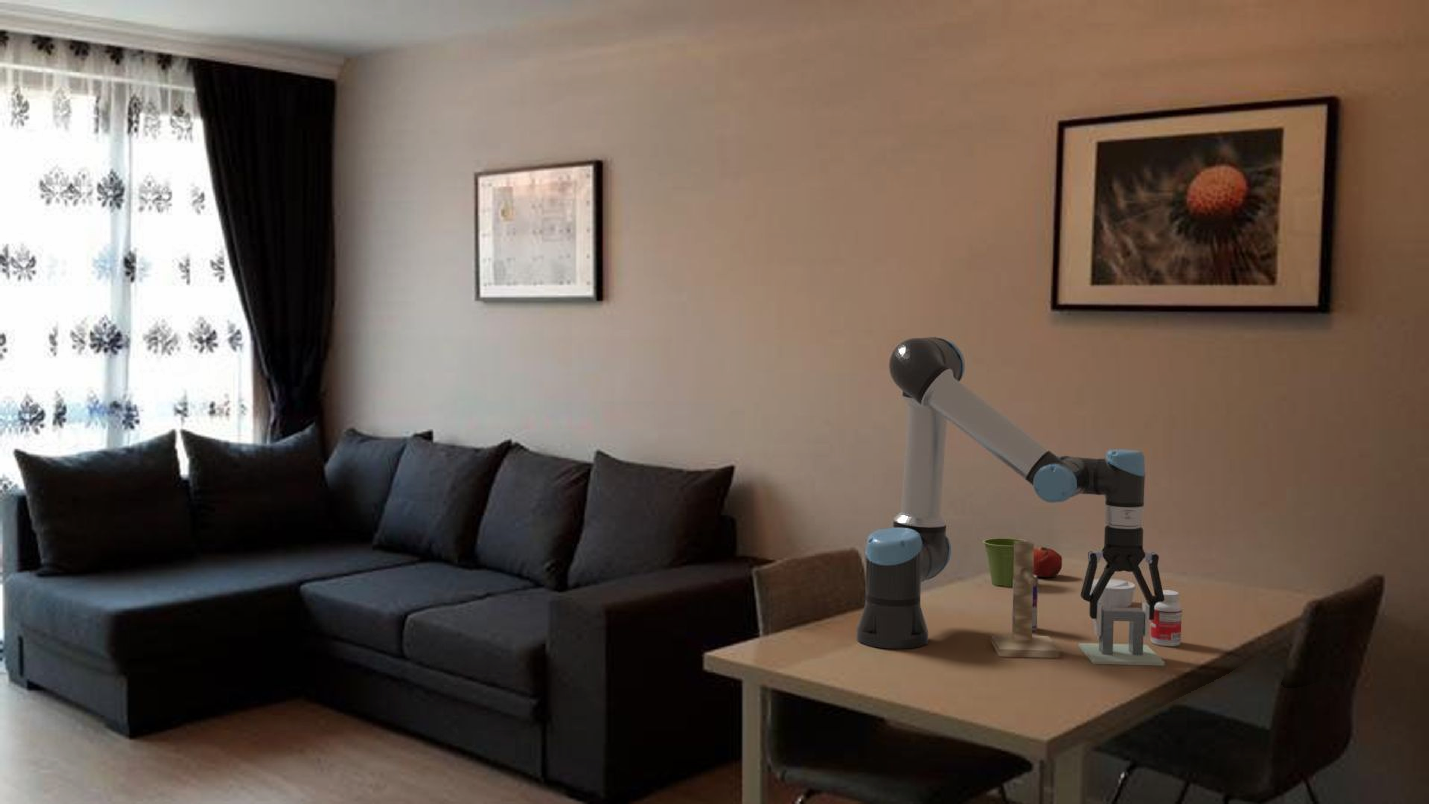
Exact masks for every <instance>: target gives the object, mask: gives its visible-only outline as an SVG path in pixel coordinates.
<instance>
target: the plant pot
mask: <svg viewBox="0 0 1429 804" xmlns="http://www.w3.org/2000/svg"><path fill="white" fill-rule="evenodd" d="M1014 541H1027V540H1026V539H1020V538H1012V537H1011V538H1010V537H993V538H988V539H983V541H982V543H983V544H984V546H985V547H984V548H985V552H986V555H987V560H988V568H989V574H990V575H989V576H990V580H991V584H992V585H993V584H994V586H996V585H1000V586H1004V587H1006V586H1011V587H1013V577H1014Z"/></svg>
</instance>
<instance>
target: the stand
mask: <svg viewBox="0 0 1429 804" xmlns="http://www.w3.org/2000/svg"><path fill="white" fill-rule="evenodd" d="M1034 549H1035V544H1034V543H1033V541H1031V540H1029V541H1028V540H1026V541H1014V577H1013V586H1012V608H1013V626H1012V625H1011V628H1012V632H1011V634H991V635H990V642H991V644H992V646H993V648H994V649H995V651H996V653H997V655H998V656H999V657H1003V658H1004V657H1008V658H1012V657H1013V658H1015V657H1016V658H1050V659H1055V658H1056V659H1058V658H1060V650H1059V648H1058V647H1057V646H1056V645H1055V643H1054V642H1053V640H1052V639H1051V638H1050V636H1049V635H1033V631H1032V611H1033V587H1035V586H1036V585H1037V584H1038V585H1039V580H1038V581H1037V579H1038V578H1037V579H1036V578H1035V577H1034V576H1033V575H1034V574H1033V564H1034Z"/></svg>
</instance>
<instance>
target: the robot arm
mask: <svg viewBox="0 0 1429 804" xmlns="http://www.w3.org/2000/svg"><path fill="white" fill-rule="evenodd" d="M965 364H966V363H965V358H964V355H963V352H962V351H961V350H960V348H959V347H958V346H957V345H956V344H955V343H954V342H952V341H950V340H948V339H945V338H941V337H936V336H930V337H913V338H909V339H906V340H903V341H902V342H900V343H899V344H898V345H897V346H896V347H895V348H894V350H893V351H892V353H891V355H890V358H889V364H888V366H889V367H888V369H889V373H890V376H891V378H892V379H891V380H892V381H893V382H894V384H895V385H896V386H897V387H898V388H899V389H900V390H902V394H901V395H902V399H903V400H904V401H905V402H906V404H907V405H908V411H907V423H906V425H907V426H906V438H905V439H906V440H905V450H904V452H905V456H904V468H903V484H902V496H901V497H902V498H901V508H900V509H901V510H900V512H899V513H898V514H897V515H896V516H894V518H893V524H892V527H887V528H879V529H877V530H874V531H873V532H871V533H870V534H869V535H868V537H867V539H866V546H865V550H864V551H865V604H864V607H863V611H862V612H861V613H862V614H861V617H860V619H859V623H858V625H857V629H856V639H857V640H856V641H858V642H859V643H861V644H862V645H866V646H870V647H874V648H881V649H894V650H895V649H896V650H897V649H899V650H902V649H904V650H905V649H913V648H914V649H916V648H919V647H923V646H925V645H927V644H928V643H929V629H928V625H927V623H926V619H925V616H924V613H923V609H922V607H921V593H922V592H921V590H922V589H921V586H922V583H923V582H925V581H929V580H931V579H933V578H935V577H937V576H938V575H939V574H940V573H942V571H944V570H945V568H946V567H947V566H948V564H949V562H950V559H951V557H952V556H951V555H952V545H951V542H950V539H949V537H948V535H947V533H946V532H947V522H946V520H945V519H944V518H943V516H942V515H941V509H942V508H941V507H942V506H941V504H942V492H943V480H944V469H945V467H944V465H945V455H946V453H945V452H946V451H945V450H946V439H947V437H946V436H947V425H948V421H950V422H951V423H952V424H953V425H954V426H956V427H957V428H958V429H960V430H961V431H962V432H963V433H965V434H966V435H967V436H968V437H970V438H971V439H972V440H974V441H976V442H977V443H978V444H979V445H980V446H981V447H983V448H984V449H985V450H987V451H988V452H990V453H991V454H992V455H993V456H994V457H996V458H997V459H998V460H1000V461H1001V462H1002V463H1004V465H1006V466H1008V467H1009V468H1010V469H1011V470H1012V471H1014V472H1015V473H1016V474H1018V475H1019V476H1020V477H1022V478H1023V479H1024V480H1026V481H1027V482H1028V483H1029V484H1030V485H1032V486H1033V490H1034V492H1035V494H1036V495H1037V496H1038V497H1039V498H1040V499H1041V500H1043V501H1045V502H1047V503H1053V504H1055V503H1062V502H1066V501H1068V500H1069V499H1070V498H1073V497H1075V496H1077V495H1094V496H1095V495H1096V496H1104V498H1105V500H1104V501H1105V503H1104V504H1105V505H1104V506H1105V507H1104V508H1105V511H1104V523H1105V524H1107V525H1106V526H1104V535H1103V537H1104V539H1103V541H1104V542H1103V543H1104V544H1103V548H1102V550H1101V551H1092V550H1090V551H1088V553H1087V557H1088V564H1087V569H1086V572H1085V575H1084V578H1083V579H1084V580H1083V583H1082V587H1081V592H1080V597H1081V598H1082V599H1083V600H1084V601H1087V602H1089V617H1090V619H1092V620H1093V621H1094V622H1093V633H1094V634H1095V635H1096V637H1097V636H1098V637H1099V636H1101V604H1100V603H1099V602H1098V600H1099V598H1100V597H1101V595H1102V593H1103V591H1104V589H1105V587H1106V586H1107V584H1108V582H1109V580H1110V579H1112V577H1113V575H1114V574H1115V572H1117V573H1119V572H1123V571H1124V572H1128V573H1132V574H1133V576H1134V578H1135V580H1136V582H1137V584H1138V587H1139V588H1140V590H1141V592H1142V594H1143V597H1144V598H1145V600H1146V602H1142V603H1141V610H1142V611H1144V629H1143V637H1144V638H1149V636H1150V634H1149V633H1150V632H1149V630H1150V621H1151V620H1153V619H1154V606H1155V605H1156V603H1158V602H1163V601H1164V595H1163V590H1164V589H1163V587H1162V581H1161V577H1160V570H1159V566H1158V564H1159V561H1160V560H1159V559H1160V556H1159V554H1157V553H1155V552H1154V551H1152V552H1145V550H1144V529H1143V527H1142V526H1143V525H1144V517H1145V516H1144V515H1145V514H1144V513H1145V512H1144V507H1145V482H1146V471H1145V468H1146V467H1145V454H1144V453H1143V452H1142V451H1139V450H1135V449H1134V450H1133V449H1118V448H1117V449H1115V448H1114V449H1109V450H1107V452H1106V455H1105V457H1104V458H1094V457H1093V458H1092V457H1091V458H1090V457H1080V456H1079V457H1078V456H1069V455H1062V456H1060V455H1059V456H1057V455H1055V454H1054V453H1053V452H1051V451H1050V450H1049V449H1048V448H1046V446H1044V445H1043V444H1042V443H1040V442H1039V441H1037V440H1036V439H1035V438H1034V437H1032V435H1030V434H1028V433H1027V432H1026V431H1025V430H1023V429H1022V428H1020V427H1019V426H1018V425H1016V424H1015V423H1014V422H1013V421H1011V420H1010V419H1009V418H1007V416H1005V415H1003V414H1002V413H1001V412H999V411H998V410H997V409H995V407H993V406H992V405H990V404H989V403H988V402H986V401H985V400H983V398H981V397H980V396H979V395H977V394H976V393H974V391H972V390H971V389H969V388H968V387H967V386H965V385H964V384H962V382H961V380H962V378H963V376H964V373H965V369H966V365H965ZM1102 558H1103V559H1104V561H1105V562H1106V565H1105V566H1104V569H1103V572H1102V573H1101V575H1100V577H1099V578H1098V579H1099V581H1098V582H1097V584H1096V586H1095V588H1094V590H1093V592H1092V593H1091V595H1090V592H1091V588H1092V584H1093V580H1094V579H1095V576H1096V572H1097V568H1098V563H1100V562H1101V559H1102ZM1144 559H1145V562H1146V563H1147V564H1148V568H1149V574H1150V579H1151V584H1152V587H1153V589H1152V590H1153V594H1152V592H1151V590H1150V588H1149V586H1148V584H1147V582H1146V579H1145V577H1144V576H1143V572H1142V570H1141V568H1140V566H1139V565H1140V564H1141V562H1142V561H1143V560H1144Z"/></svg>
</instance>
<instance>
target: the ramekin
mask: <svg viewBox="0 0 1429 804" xmlns="http://www.w3.org/2000/svg"><path fill="white" fill-rule="evenodd" d="M1099 579H1100V578H1094V580H1093V584H1092V588H1091V592H1090V595H1091V593H1092V592H1093V590H1094V588H1095V586H1096V584H1097V582H1098V581H1099ZM1135 591H1136V585H1135V583H1133V582H1131V581H1128V580H1123V579H1116V578H1115V579H1114V578H1110V580H1109V582H1108V584H1107V586H1106V587H1105V589H1104V591H1103V593H1102V595H1101V597H1100V598H1099V600H1098V602H1099V603H1100V604H1101V607H1120V608H1130V606H1131V605H1132V603H1133V598H1134V594H1135V593H1134V592H1135Z"/></svg>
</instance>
